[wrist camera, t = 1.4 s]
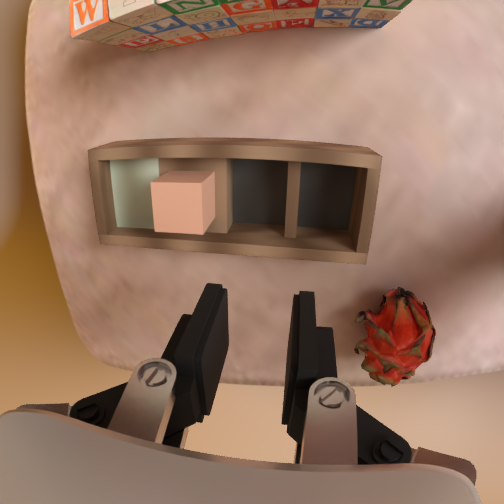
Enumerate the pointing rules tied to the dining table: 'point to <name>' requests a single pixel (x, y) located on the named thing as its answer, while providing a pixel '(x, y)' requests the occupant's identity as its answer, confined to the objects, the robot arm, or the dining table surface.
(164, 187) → the terracotta block
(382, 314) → the dragon fruit
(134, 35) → the stack of blocks
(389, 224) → the dining table surface
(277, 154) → the box
